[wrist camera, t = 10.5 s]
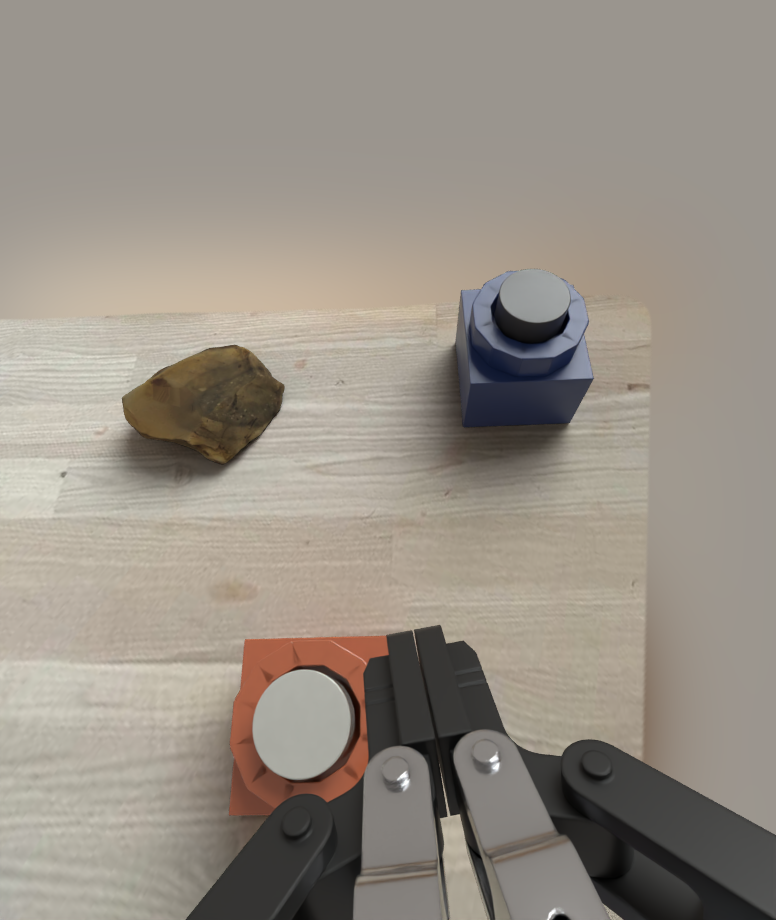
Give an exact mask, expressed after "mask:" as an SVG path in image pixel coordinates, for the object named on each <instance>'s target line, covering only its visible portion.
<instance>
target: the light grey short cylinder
mask: <svg viewBox="0 0 776 920" xmlns="http://www.w3.org/2000/svg"><path fill="white" fill-rule="evenodd" d="M354 729H355V712H354V707H353V703H352V700H351V698H350V696H349V694H348V692H347V691H346V689H345V688H344V687H343V685H342V684H340V683H339V682H338V681H337V680H336V679H334V678H333V677H331V676H329V675H327V674H324V673H321V672H318V671H314V670H306V669H303V670H296V671H291V672H289V673H286V674H284V675H282V676H280V677H279V678H278V679H276V680H275V681H274V682H272V683H271V684H270V685H269V686H268V688H267V689H266V690H265V691H264V693H263V694H262V696H261V697H260V699H259V701H258V703H257V706H256V709H255V712H254V716H253V723H252V733H253V740H254V745H255V748H256V750H257V753H258V755H259V757H260V758H261V760H262V761H263V763H264V764H265V765H266V766H267V767H268V768H269V769H270V770H271V771H272V772H274V773H275V774H277V775H279V776H281V777H284V778H287V779H291V780H306V779H310V778H313V777H316V776H318V775H320V774H322V773H323V772H325V771H326V770H328V769H329V768H330V767H332V766H333V765H334V764H336V763H337V762H338V761H339V760H340V759H341V758H342V756H343V755H344V754H345V752H346V751H347V749H348V747H349V745H350V743H351V741H352V737H353V734H354Z"/></svg>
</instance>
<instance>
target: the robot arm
mask: <svg viewBox="0 0 776 920" xmlns="http://www.w3.org/2000/svg"><path fill="white" fill-rule="evenodd" d="M414 632H415V639H416V645H417V651H418V656H417V651H416V646H415V642H414V637H413V632H412V630H410V631H405V632H400V633H394V634H389V635H386V639H387V646H388V653H389V655H385V656H380V657H374V658H370V659H369V661H368V664H367V666H366V668H365V670H364V673H363V681H364V692H365V693H364V696H365V711H366V726H367V741H368V764H367V767H366V769H365V772H364V774H363V776H362V777H361V779H360V780H359V781H358V782H357V783H356V784H355V786H353V787H352V788H351V789H350V790H348V791H347V792H345V793H344V794H342V795H340V796H338V797H336V798H334V799H332V800H331V801H329V802H326V801H325V800H324V799H323V798H321V797H320V796H318V795H315V794H307V793H305V794H298V795H295V796H292V797H290V798H288V799H287V800H285V801H283V802H282V803H281V804H280V805H278V806H277V807H276V808H275V810H274V811H273V812H272V813H271V814H270V816H269V817H268V818H267V819H266V820H265V822H264V823H263V824H262V825H261V827H260V828H259V829H258V830H257V832H256V833H255V834H254V835H253V837H252V838H251V839H250V840H249V842H248V843H247V844H246V845H245V847H244V848H243V849H242V850H241V852H240V853H239V854H238V855H237V856H236V858H235V859H234V860H233V861H232V863H231V864H230V865H229V866H228V868H227V869H226V870H225V871H224V873H223V874H222V875H221V876H220V878H219V879H218V880H217V881H216V883H215V884H214V885H213V886H212V888H211V889H210V890H209V891H208V893H207V894H206V895H205V896H204V897H203V899H202V900H201V901H200V902H199V904H198V905H197V906H196V907H195V909H194V910H193V911H192V912H191V914H190V915H189V916H188V917H187V919H186V920H450V912H449V903H448V894H447V885H446V876H445V867H444V858H443V850H444V840H443V833H442V827H441V821H440V818H444V817H448V816H447V810H446V804H445V797H444V791H443V785H442V778H443V783H444V788H445V792H446V797H447V802H448V807H449V811H450V816H452V815H457V814H460V817H461V821H462V825H463V830H464V835H465V842H466V848H467V853H468V857H469V860H470V863H471V866H472V870H473V873H474V876H475V880H476V883H477V886H478V890H479V893H480V896H481V899H482V903H483V906H484V909H485V913H486V916H487V919H488V920H610V918H609V916H608V914H607V912H606V909H605V907H604V905H606V906H607V907H608V908H609V909H611V910H612V911H613V912H615V913H616V914H617V915H618V916H620V917H621V918H622V919H624V920H776V835H775V834H772V833H771V832H769V831H767V830H765V829H764V828H762V827H760V826H758V825H756V824H754V823H752V822H751V821H749V820H747V819H745V818H744V817H742V816H740V815H738V814H736V813H734V812H733V811H731V810H729V809H727V808H725V807H723V806H722V805H720V804H718V803H716V802H714V801H713V800H710V799H709V798H707V797H705V796H703V795H702V794H700V793H698V792H696V791H694V790H692V789H691V788H689V787H687V786H685V785H683V784H682V783H680V782H678V781H676V780H674V779H672V778H671V777H669V776H667V775H665V774H663V773H661V772H660V771H658V770H656V769H654V768H652V767H651V766H649V765H647V764H645V763H643V762H641V761H640V760H638V759H636V758H634V757H632V756H631V755H629V754H627V753H625V752H623V751H621V750H620V749H618V748H616V747H614V746H612V745H610V744H608V743H605V742H602V741H598V740H589V739H588V740H581V741H577V742H575V743H572V744H571V745H570V746H568V747H567V748H566V749H565V751H564V752H563V754H562V756H554V755H545V754H538V753H534V752H531V751H528V750H526V749H523V748H522V747H520V746H518V745H517V744H516V743H515V742H513V741H512V739H511V738H510V737H509V736H508V734H507V733H506V731H505V729H504V727H503V724H502V721H501V718H500V716H499V713H498V710H497V708H496V705H495V702H494V700H493V697H492V694H491V692H490V689H489V686H488V683H487V682H486V678H485V675H484V673H483V670H482V667H481V665H480V662H479V659H478V657H477V654H476V652H475V651H474V650H473V649H472V648H471V647H470V646H469V645H467V644H466V643H465V642H464V641H459V642H454V643H448V644H446V642H445V638H444V635H443V632H442V628H441V626H440V625H437V626H431V627H426V628H421V629H415V630H414ZM418 658H419V660H418ZM419 664H420V665H419ZM439 764H440V766H439ZM440 769H441V772H440ZM441 773H442V778H441ZM603 904H604V905H603Z"/></svg>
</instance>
